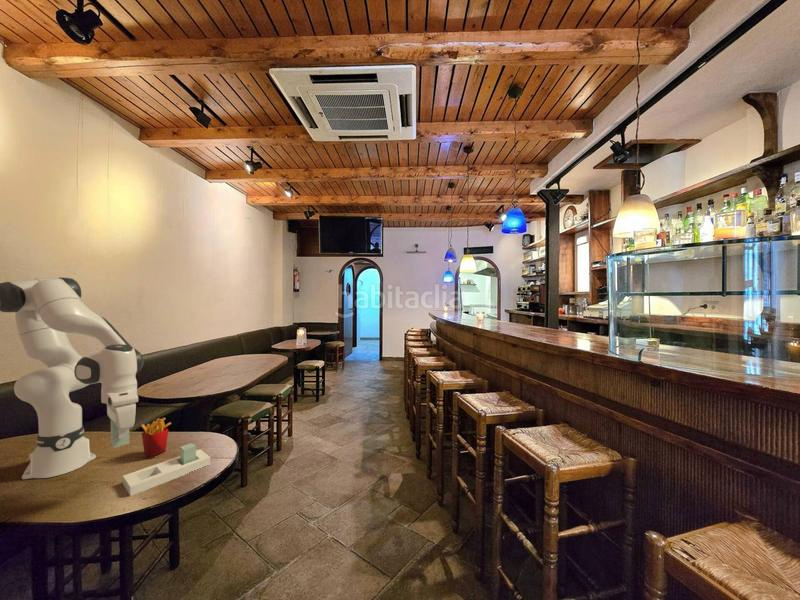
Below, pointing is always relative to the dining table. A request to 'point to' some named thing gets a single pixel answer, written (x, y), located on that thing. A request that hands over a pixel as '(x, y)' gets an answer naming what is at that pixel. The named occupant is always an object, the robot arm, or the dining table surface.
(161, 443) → the french fries
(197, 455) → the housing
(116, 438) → the block
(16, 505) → the dining table surface
